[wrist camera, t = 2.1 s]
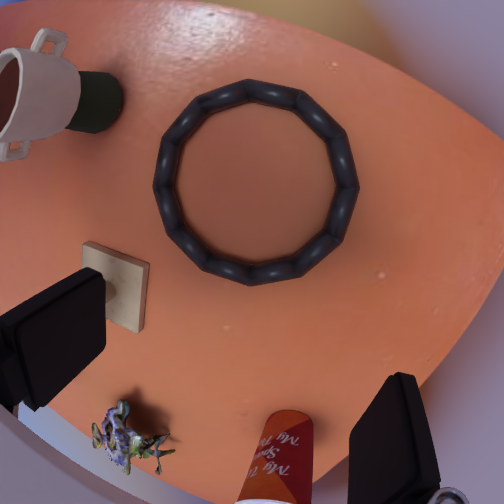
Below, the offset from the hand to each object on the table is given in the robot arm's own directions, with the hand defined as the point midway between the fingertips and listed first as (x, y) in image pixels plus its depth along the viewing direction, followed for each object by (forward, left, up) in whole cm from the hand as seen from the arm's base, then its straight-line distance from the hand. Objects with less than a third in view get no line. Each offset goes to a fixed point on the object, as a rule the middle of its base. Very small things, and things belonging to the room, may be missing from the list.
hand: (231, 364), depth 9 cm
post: (-16, -11, -18) cm, 26 cm away
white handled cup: (-21, +7, -18) cm, 28 cm away
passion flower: (-11, -32, -18) cm, 39 cm away
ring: (-4, +3, -17) cm, 18 cm away
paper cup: (+7, -22, -18) cm, 30 cm away
